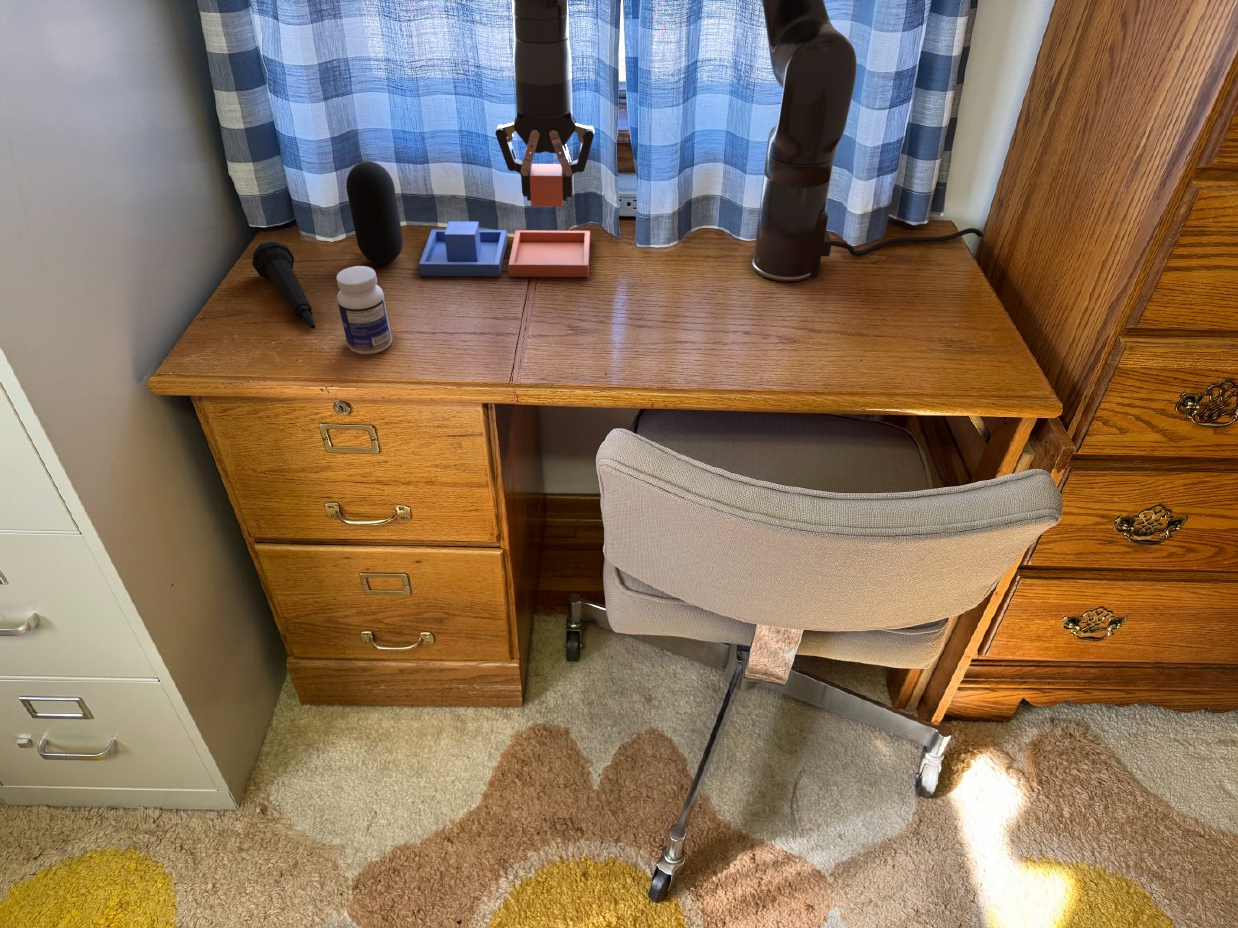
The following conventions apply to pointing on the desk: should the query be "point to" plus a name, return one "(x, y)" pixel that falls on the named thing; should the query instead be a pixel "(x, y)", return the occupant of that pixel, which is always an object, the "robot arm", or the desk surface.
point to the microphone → (283, 277)
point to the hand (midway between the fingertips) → (547, 198)
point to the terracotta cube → (546, 185)
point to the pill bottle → (363, 310)
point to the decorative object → (374, 212)
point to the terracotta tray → (550, 253)
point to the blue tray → (487, 263)
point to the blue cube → (462, 241)
